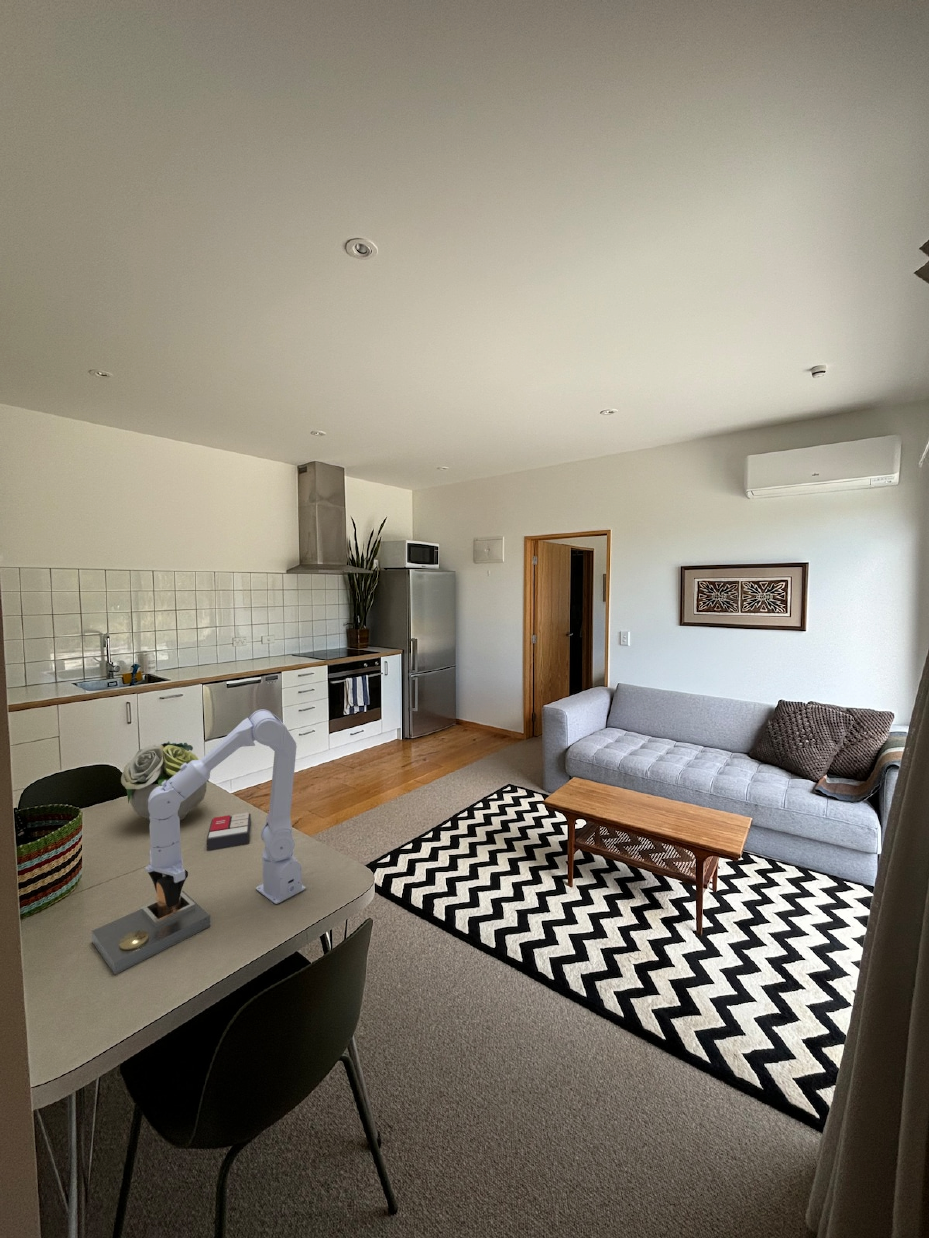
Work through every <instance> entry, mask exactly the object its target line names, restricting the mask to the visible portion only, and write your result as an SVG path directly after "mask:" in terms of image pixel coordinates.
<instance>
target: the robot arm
mask: <svg viewBox="0 0 929 1238" xmlns="http://www.w3.org/2000/svg"><path fill="white" fill-rule="evenodd" d="M254 741H256V742H257V743H259V744H261V745H264V746H266V747H269V748H270V749H272V751H274V752H273V753H274V755H273V766H272V777H271V787H270V797H269V799H270V800H269V810H268V814H267V816H266V821H265V824H264V825H263V827H262V829H261V832H260V838H261V840H262V842H263V843H264V849H263V851H262V853H261V855H262V856H261V858H262V862H261V863H262V884H259V885H258V886H256V887H255V890H256V891H257V892H259V893H260V894H261V895H263V896H264V897H265V898H267V899H268V900H269V901H270V902H272V903H274V904H275V905H278V904H279V903H282V902H284V901H285V900H288V899H289V898H292V897H293V896H295V895H297V894H299V893H300V892H303V891H304V890H306V886H304V885H303V877H302V875H303V874H302V873H303V872H302V871H303V870H302V868H303V867H302V864H301V863H300V862H299V861H298V860H297V858H296V857H295V851H294V849H295V845H296V843H295V839H294V837H293V834H292V833H293V826H292V818H291V811H292V799H293V789H294V778H295V767H296V757H297V756H296V755H297V747H298V746H297V743H296V740H295V739H294V738H293V736H292V734H291V733H290V731H289V730H288V728H287V726H286V725H285V724H284V723H283V722H282V720H281V719H280V718H279V717H278V716H277V715H276V714H274V712H271V711H270V710H268V709H264V708H263V709H258V710H256V711H254V712H253V713H252V714H250V716H249V718H248V717H246V718H245V719H243V720H242V721H241V722H240V723H239V724H238V725H236V727H234V729H233V730H231V732H229V733H228V734H227V735H226V736H225V737H224V738H223V739H221V740H220V741H219V742H218V743H217V744H216V745H215V746H214V747H213V748H212V749H211V750H210V751H208V752H207V753H206V754H205V755H204V756H203V757H202V758H201V759H199V760H192V761H190V762H189V763H188V764H186V763H184V764H183V765H181V766H180V767H181V770H180V771H179V772H177V773H176V774H175V775H174V776H173V777H171V778H170V779H169V780H168V781H166V780H165V781H164V782H162V786H158V787H156V788H155V789H154V790H153V791H152V792H151V793H150V796H149V799H148V810H149V813H150V819H149V826H148V828H149V845H150V847H149V848H150V850H149V851H148V853H149V854H148V856H149V861H150V864H148V865H146V866H145V868H144V870H145V871H146V872H147V874H148V875H149V877H150V879H151V881H152V884H153V887H154V890H155V893H156V894H157V885H156V883H157V881H158V883H159V884H160V885H161V887H162V889H163V892H164V896H165V901H166V905H167V907H168V908H170V907H172V906H174V905H176V904H178V903H179V899H180V895H181V891H183V886H184V884H185V882H186V880H187V879H188V876H189V872H188V870H186V869H184V863H183V855H182V848H181V847H182V846H181V845H182V844H181V825H180V824H181V823H180V822H181V820H180V819H179V817H178V810H179V807H180V803H181V802H182V801H184V800H186V799H187V798H188V797H189V796H190V795H191V794H192V793H194V792H195V791H196V790H197V789H198V788H199V787H200V786H202V785H203V784H204V783H205V782H206V781H207V780H208V781H209V780H210V778H211V771H212V770H213V769H215V768H216V767H217V766H218V765H220V764H221V763H223V761H225V760H226V759H227V758H229V757H230V756H231V755H232V754H234V753H235V752H236V751H238V750H239V749H240V748H241V747H255V746H256V743H255V742H254ZM162 873H164V874H167V876H164V877H162Z"/></svg>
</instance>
